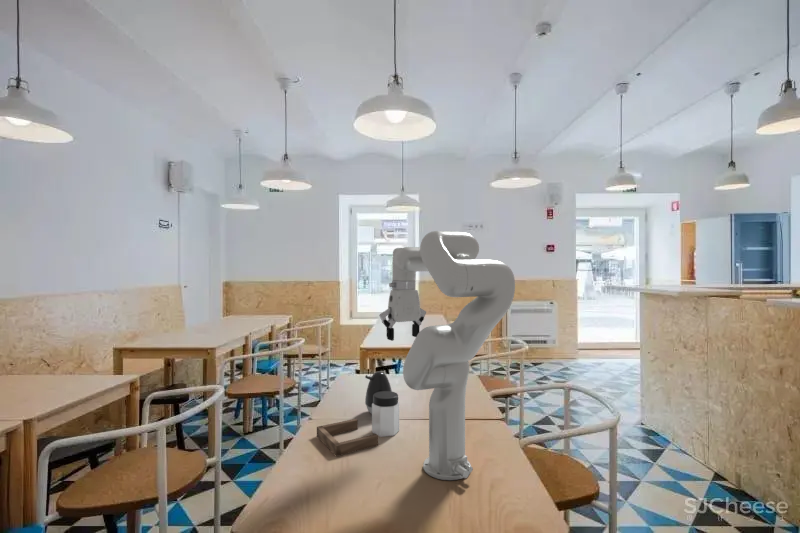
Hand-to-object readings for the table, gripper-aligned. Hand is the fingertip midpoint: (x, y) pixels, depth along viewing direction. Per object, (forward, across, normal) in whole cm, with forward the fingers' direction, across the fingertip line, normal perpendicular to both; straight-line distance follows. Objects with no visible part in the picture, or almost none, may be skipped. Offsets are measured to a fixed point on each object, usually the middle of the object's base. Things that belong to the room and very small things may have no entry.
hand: (403, 338), depth 135 cm
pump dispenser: (+31, +1, +18) cm, 36 cm away
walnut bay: (+30, -18, +2) cm, 35 cm away
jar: (+31, -5, +2) cm, 31 cm away
